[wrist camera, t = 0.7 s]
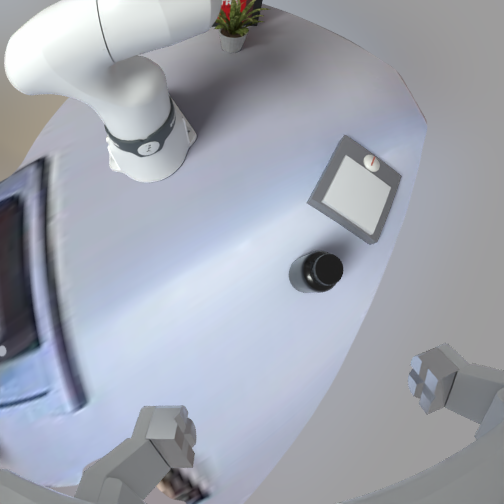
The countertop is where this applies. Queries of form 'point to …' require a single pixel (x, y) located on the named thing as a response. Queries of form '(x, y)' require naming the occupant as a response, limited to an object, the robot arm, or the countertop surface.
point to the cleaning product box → (227, 5)
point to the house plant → (235, 26)
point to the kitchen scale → (356, 190)
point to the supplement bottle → (315, 272)
